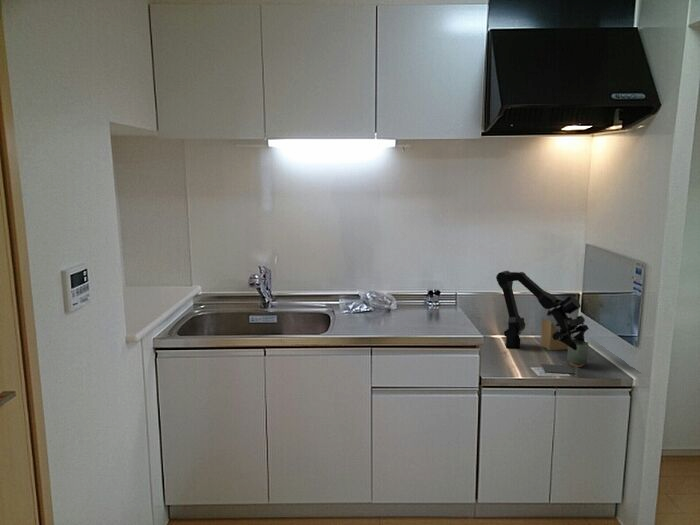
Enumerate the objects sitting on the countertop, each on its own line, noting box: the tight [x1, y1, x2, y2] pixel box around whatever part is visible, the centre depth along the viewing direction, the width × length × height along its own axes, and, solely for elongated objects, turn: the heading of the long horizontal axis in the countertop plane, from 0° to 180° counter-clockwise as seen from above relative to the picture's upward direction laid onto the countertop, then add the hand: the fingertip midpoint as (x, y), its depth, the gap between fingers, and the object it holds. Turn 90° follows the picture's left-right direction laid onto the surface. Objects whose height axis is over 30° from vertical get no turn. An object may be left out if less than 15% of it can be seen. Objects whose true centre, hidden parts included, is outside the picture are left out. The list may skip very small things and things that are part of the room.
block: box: [569, 362, 584, 368], centre depth 227 cm, size 4×4×4 cm
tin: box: [566, 338, 589, 366], centre depth 226 cm, size 6×6×10 cm
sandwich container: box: [540, 317, 568, 351], centre depth 250 cm, size 9×15×15 cm, turn 100°
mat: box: [540, 363, 575, 375], centre depth 222 cm, size 12×9×1 cm
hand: (580, 348), depth 224 cm, fingers closed on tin, 6 cm apart
